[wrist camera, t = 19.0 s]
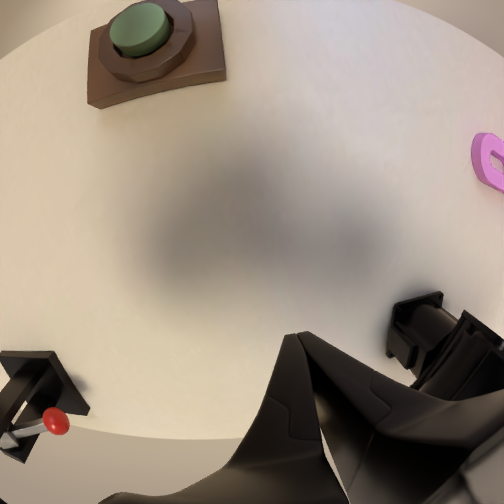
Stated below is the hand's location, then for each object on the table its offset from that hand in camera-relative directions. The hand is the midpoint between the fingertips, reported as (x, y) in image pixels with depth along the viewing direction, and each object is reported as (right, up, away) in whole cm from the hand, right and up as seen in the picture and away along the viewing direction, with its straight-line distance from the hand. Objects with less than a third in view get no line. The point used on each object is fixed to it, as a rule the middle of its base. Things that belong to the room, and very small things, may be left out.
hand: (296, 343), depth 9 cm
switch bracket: (-28, -13, +14) cm, 34 cm away
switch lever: (-25, -14, +7) cm, 30 cm away
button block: (-9, +18, +7) cm, 21 cm away
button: (-9, +17, +3) cm, 19 cm away
